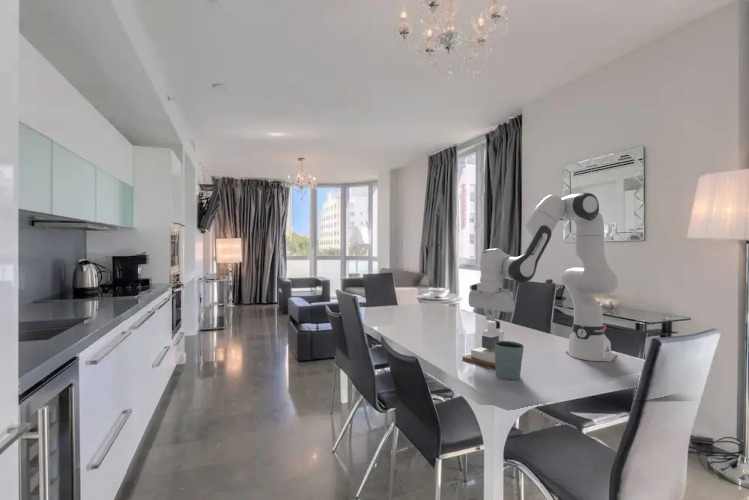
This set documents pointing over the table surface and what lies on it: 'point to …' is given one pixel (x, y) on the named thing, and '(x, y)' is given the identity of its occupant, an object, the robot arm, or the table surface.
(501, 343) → the teal cup
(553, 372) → the table surface
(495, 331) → the medicine bottle
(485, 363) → the mounting board
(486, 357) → the socket
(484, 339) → the plug
